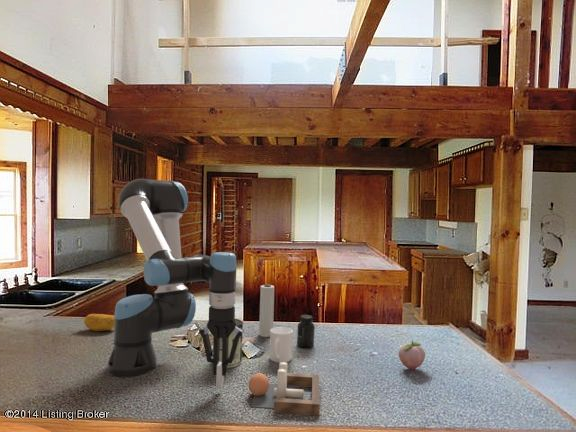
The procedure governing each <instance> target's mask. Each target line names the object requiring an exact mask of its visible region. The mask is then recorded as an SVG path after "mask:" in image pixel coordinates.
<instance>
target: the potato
mask: <svg viewBox="0 0 576 432" xmlns="http://www.w3.org/2000/svg"><path fill="white" fill-rule="evenodd" d="M83 322H84V325H85V327H86V328H87V329H89V330H91V331H95V332H103V331H111V330H112V329H114V325H115V318H114V314H112V315H111V314H104V313H89V314H88V315H86V316H85V317H84V319H83Z"/></svg>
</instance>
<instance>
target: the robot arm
mask: <svg viewBox="0 0 576 432" xmlns="http://www.w3.org/2000/svg"><path fill="white" fill-rule="evenodd" d="M188 204H189V198H188V192H187V190H186V188H185V186H184V185H183V184H182V183H181V182H179V181H173V180H162V179H149V178H136V179H133V180H131V181H129V182H128V183H126V184H125V185H124V186H123V188H122V189H121V191H120V193H119V195H118V203H117V205H118V209H119V210H120V213H121V215H122V216H123V217H125V218H127V220H128V222H129V225H130V227H131V229H132V231H133V233H134V236H135V237H136V238H135V239H136V240H137V242H138V245H139V246H140V249H141V250H142V253H143V256H144V257H145V259H146V261H145V263H144V265H143V270H142V271H143V272H142V273H143V276H144V277H143V278H144V282H145V283H146V284H147V285H148V286H150V287H154V286H155V287H157V286H158V287H157V289H156V290H155V291H154V297H153V295H152V294H148V293H142V294H139V293H138V294H132V295H128V296H126V297H123V298H121V299H119V300H118V301H117V302H116V304H115V309H114V314H113V315H114V318H115V325H114V328H113V329H114V332H113V348H112V350H111V353H110V356H109V359H108V361H107V369H106V370H107V373H108V374H109V375H112V376H115V377H126V378H127V377H136V376H140V375H144V374H147V373H149V372H151V371H153V370H154V369H155V368H156V367H157V361H158V360H157V355H156V352H155V349H154V346H153V343H152V342H153V341H152V340H153V339H152V337H153V333H158V332H163V331H168V330H173V329H180V328H183V327H187V326H188V325H191V324H192V322H193V320H194V319H195V316H196V311H197V303H196V299H195V296H194V295H193V294H192V293H190V292H189V288H188V287H187V286H186V285H185V284H187V283H193V282H194V283H195V282H207V283H209V291H208V292H209V293H208V295H209V296H208V297H209V298H208V299H209V300H208V301H209V302H208V304H209V305H210V306H209V307H208V321H207V323H206V325H205V326H202V327H201V328H200V329H198V330H199V331H198V332H199V335H200V336H201V338H202V342H203V347H204V353H205V357H206V361H207V363H211V364H212V365H213V367H212V369H213V371H212V375H213V376H216V377H215V378H216V380H215V382H216V383H215V388H217V389H222V388H223V385H224V380H225V379H224V378H225V377H226V375H227V374H228V368H227V364H229V363H230V364H231V363H232V361H233V360H234V357H235V353H236V349H237V346H238V342H239V338H240V336H241V335H242V336H243V334H244V329H239V328H238V327H236V323H235V319H236V318H235V317H236V316H235V315H236V307H235V304H236V284H237V267H238V266H237V255H236V254H235V253H233V252H227V251H220V252H219V251H218V252H212V253H211V254H210V256H209V255H206V254H196V255H195V254H194V255H193V256H189V257H188V256H187V257H182V247H181V246H182V245H181V233H180V219H181V218H182V217H183V212H185V211H186V210H187V208H188ZM184 283H185V284H184ZM233 331H235V333H234V335H235V338H234V341H233V345H232V349H231V352H230V356H229V358H228V339H229V336H230V334H231V333H232V332H233ZM209 332H210V334H211V335H212V338H213V339H212V340H213V341H214V349H212V348H213V347H212V344H211V339H210V335H209ZM220 338H222V362H219V360H220V359H219V352H220ZM213 341H212V342H213Z"/></svg>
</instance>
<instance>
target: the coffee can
mask: <svg viewBox="0 0 576 432" xmlns="http://www.w3.org/2000/svg"><path fill="white" fill-rule="evenodd" d="M235 323H236V327H238V328H239V329H243V326H244V321H243V320H241V319H239V318H235ZM243 330H244V329H243ZM234 333H235V331H233V332H232V333H231V334H230V336H229V339H228V358H229V356H230V352H231V349H232V345H233V341H234V338H235V335H234ZM212 342H213V344H212V345H213V347H212V348H213V349H214V341H212ZM213 349H212V350H213ZM219 359H220V360H219V362H222V338H220V352H219ZM242 363H243V334H242V335H241V336H240V338H239V342H238V346H237V349H236V353H235V357H234V360H233V361H232V363H231V364H230V363H229V364H227V369H230V368H234V367H235V368H236V367H238V366H240V365H241V364H242Z"/></svg>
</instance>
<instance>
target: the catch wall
mask: <svg viewBox="0 0 576 432" xmlns="http://www.w3.org/2000/svg"><path fill="white" fill-rule="evenodd" d="M287 385H297V387H301V388H303V387H304V388H305V387H306V388H311V399H298V398H296V399H287V398H275V400H274V409H273V413H274V414H275V413H276V414H278V413H279V414H287V415H288V414H289V415H303V416H304V415H305V416H317V417H318V416H320V406H321V405H320V375H319V374H310V373H308V374H307V373H295V372H294V373H293V372H292V373H291V372H287Z"/></svg>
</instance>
